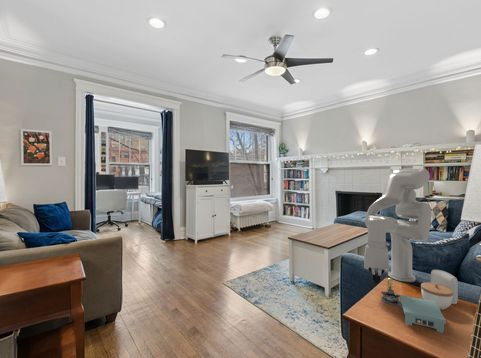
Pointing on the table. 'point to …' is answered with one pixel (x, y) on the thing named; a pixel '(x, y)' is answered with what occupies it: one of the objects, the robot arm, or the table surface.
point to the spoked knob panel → (421, 312)
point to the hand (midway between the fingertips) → (376, 282)
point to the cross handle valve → (390, 293)
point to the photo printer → (446, 282)
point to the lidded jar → (437, 294)
